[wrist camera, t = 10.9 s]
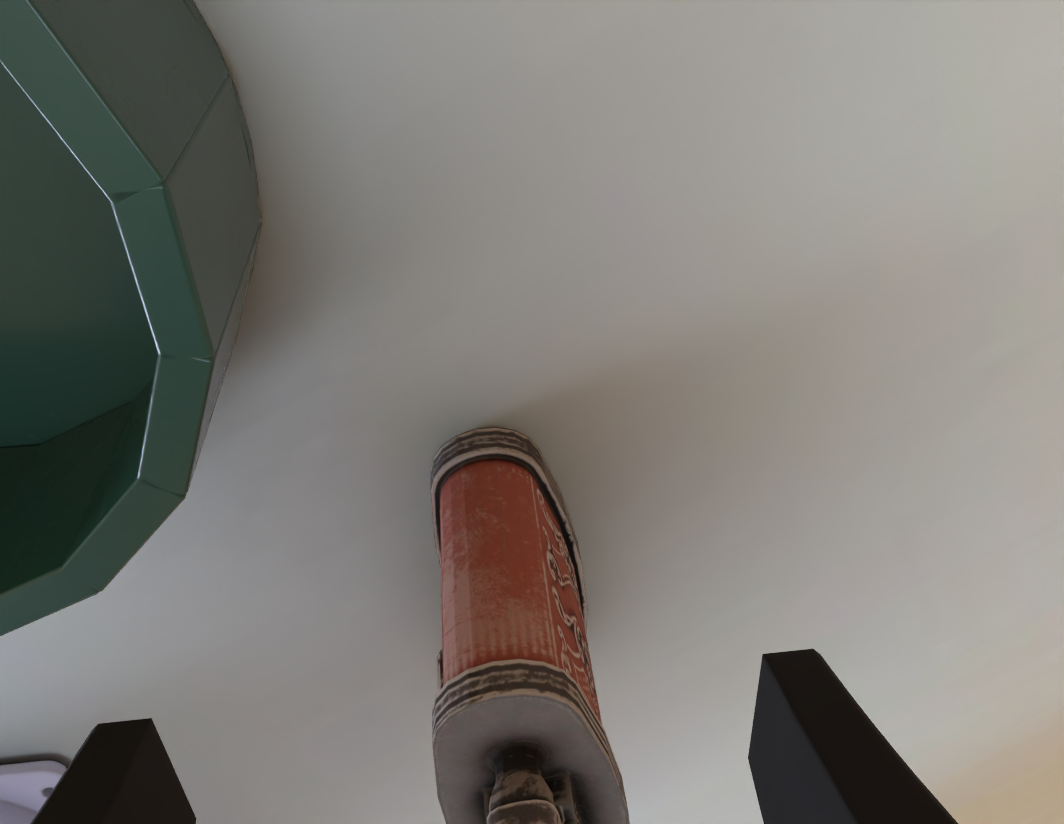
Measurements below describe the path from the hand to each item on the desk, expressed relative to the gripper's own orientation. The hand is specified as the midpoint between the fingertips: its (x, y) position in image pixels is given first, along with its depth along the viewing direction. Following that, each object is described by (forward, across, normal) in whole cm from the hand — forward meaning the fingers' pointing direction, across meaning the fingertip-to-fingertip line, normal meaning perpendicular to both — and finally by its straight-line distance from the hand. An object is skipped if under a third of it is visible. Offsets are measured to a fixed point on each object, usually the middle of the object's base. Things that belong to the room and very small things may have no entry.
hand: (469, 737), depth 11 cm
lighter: (+11, -1, +7) cm, 13 cm away
